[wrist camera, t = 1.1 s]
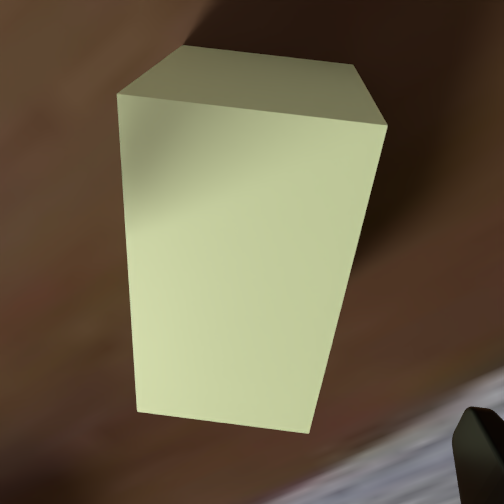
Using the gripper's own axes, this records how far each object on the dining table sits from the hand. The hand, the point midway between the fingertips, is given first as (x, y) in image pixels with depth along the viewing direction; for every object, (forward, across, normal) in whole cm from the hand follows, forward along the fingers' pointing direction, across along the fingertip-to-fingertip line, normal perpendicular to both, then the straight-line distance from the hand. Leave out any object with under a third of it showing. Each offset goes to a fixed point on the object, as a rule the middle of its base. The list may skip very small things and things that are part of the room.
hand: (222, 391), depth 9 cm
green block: (+9, 0, 0) cm, 9 cm away
